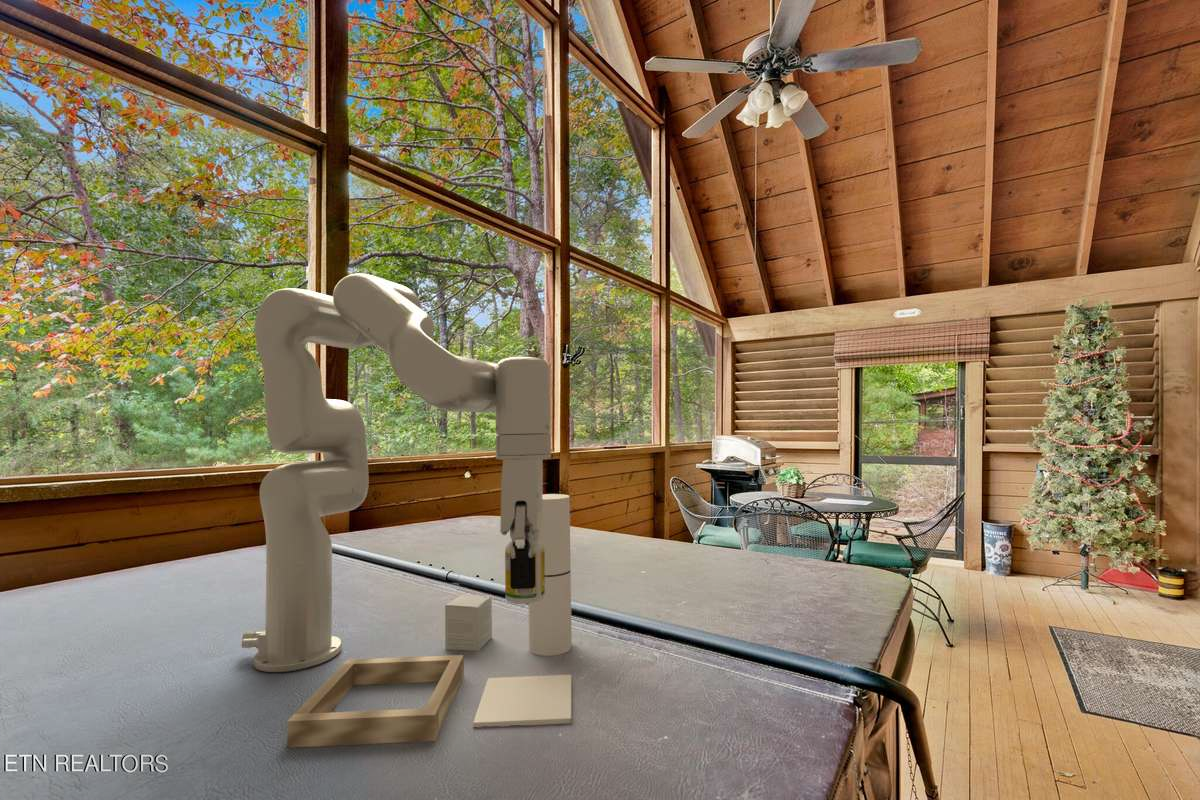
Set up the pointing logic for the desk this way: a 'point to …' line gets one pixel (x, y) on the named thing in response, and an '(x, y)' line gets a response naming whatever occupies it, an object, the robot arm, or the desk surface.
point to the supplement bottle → (539, 590)
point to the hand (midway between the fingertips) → (525, 579)
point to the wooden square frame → (377, 726)
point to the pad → (525, 701)
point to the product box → (468, 622)
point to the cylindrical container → (553, 581)
